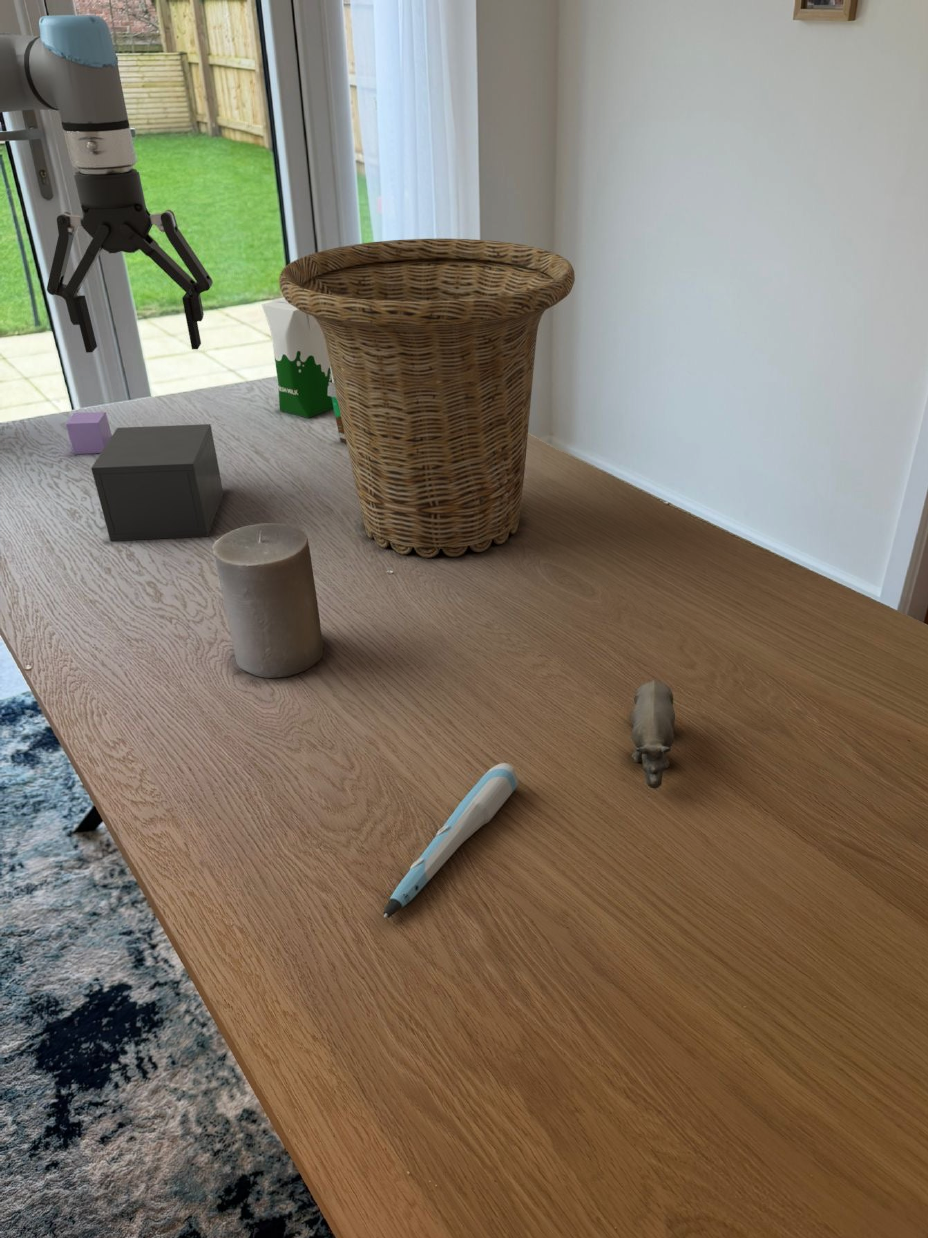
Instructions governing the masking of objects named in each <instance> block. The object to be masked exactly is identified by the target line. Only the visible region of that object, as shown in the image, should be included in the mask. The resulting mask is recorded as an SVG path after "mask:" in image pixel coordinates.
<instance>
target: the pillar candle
mask: <svg viewBox="0 0 928 1238" xmlns="http://www.w3.org/2000/svg"><path fill="white" fill-rule="evenodd" d="M309 543H310V542H309V538H308V536H307V534H306V533H305V532H304V531H303V530H302V529H300V528H299V527H298V528H297V527H296V526H293V525H291V524H290V525H289V524H284V523H280V522H279V523H277V522H264V523H255V524H250V525H245V526H240V527H239V528H235V529H233V530H230V531H229V532H227V533H224V534H223V535H222V536H221V537H220V538H218V539H217V540H215V541H214V543H213V544H212V551H213V555H214V559H215V565H216V570H217V575H218V579H219V584H220V585H219V586H220V590H221V595H222V600H223V605H224V609H225V615H226V621H227V625H228V629H229V635H230V638H231V644H232V648H233V653H234V658H235V662H236V665H237V667H238V668H239V669H241V670H243V671H245V672H247V673H249V674H251V675H254V676H256V677H260V678H265V679H271V678H272V679H276V678H277V679H278V678H286V677H290V676H294V675H297V674H299V673H302V672H305V671H307V670H309V669H310V668H312V667H313V666H314V665H316V664H317V663H318V662H320V660H321V659H322V658H323V656H324V653H325V648H324V644H323V636H322V629H321V619H320V612H319V604H318V597H317V590H316V583H315V577H314V569H313V563H312V556H311V550H310V544H309Z"/></svg>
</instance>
